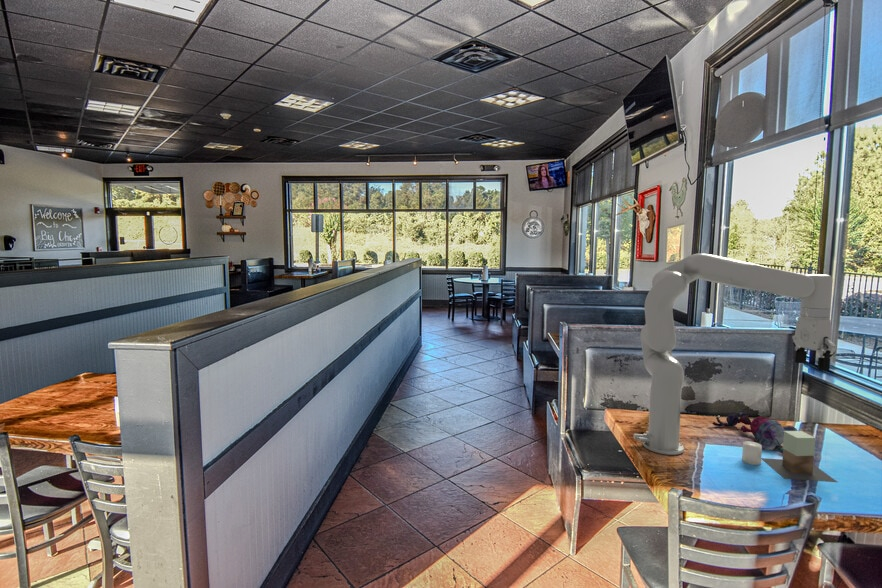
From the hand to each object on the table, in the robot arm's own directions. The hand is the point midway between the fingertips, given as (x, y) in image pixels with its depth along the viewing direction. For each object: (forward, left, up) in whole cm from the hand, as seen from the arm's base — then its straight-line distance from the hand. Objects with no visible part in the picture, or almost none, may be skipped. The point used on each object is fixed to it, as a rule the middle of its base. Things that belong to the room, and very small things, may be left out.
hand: (811, 366), depth 153 cm
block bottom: (-8, -11, -30) cm, 33 cm away
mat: (-8, -11, -30) cm, 33 cm away
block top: (-8, -11, -24) cm, 28 cm away
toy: (-8, +12, -30) cm, 33 cm away
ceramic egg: (-19, -7, -30) cm, 36 cm away
